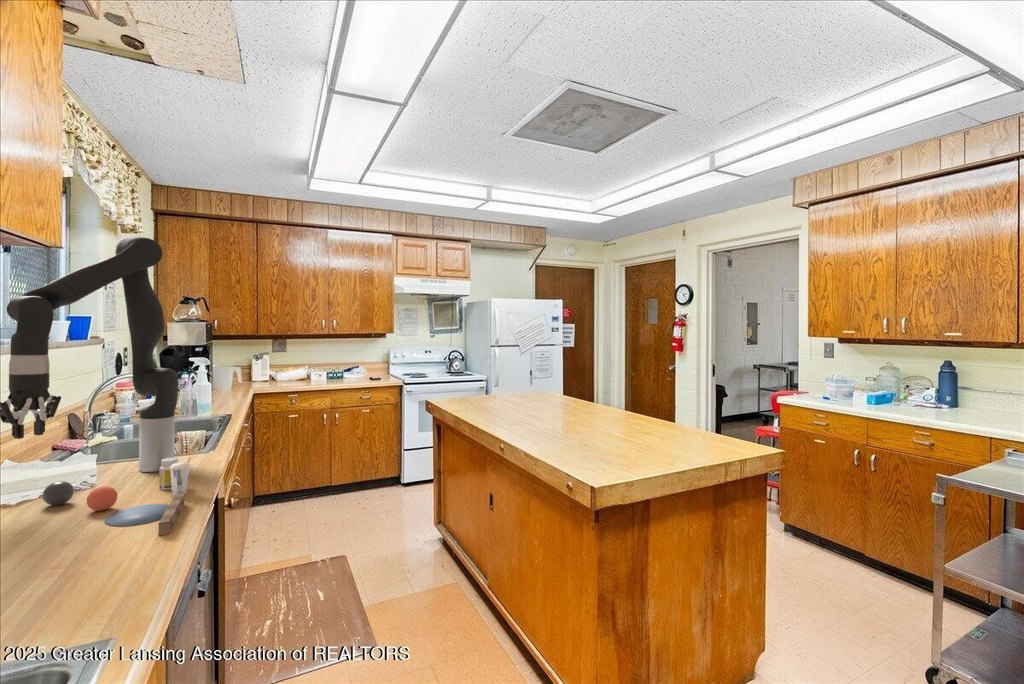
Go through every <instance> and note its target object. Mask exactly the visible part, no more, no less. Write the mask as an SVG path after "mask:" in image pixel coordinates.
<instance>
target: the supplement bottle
mask: <svg viewBox="0 0 1024 684" xmlns="http://www.w3.org/2000/svg"><path fill="white" fill-rule="evenodd" d="M177 462H179V458H178V457H174V458H166V459H163V460H161V465H162V466H161V467H160V471H159V477H158V478H159V481H158V482H159V486H158V487H159V488H158V489H159V490H161V491H169V490H171V491H172V485H171V473H170V466H171V465H172V464H174V463H177Z"/></svg>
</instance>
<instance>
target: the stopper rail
mask: <svg viewBox="0 0 1024 684" xmlns="http://www.w3.org/2000/svg"><path fill="white" fill-rule="evenodd" d="M185 495H186V494H185V493H184V494H175V496H173V498H172V500H171V501H170V503H169V504H168V505H169V506H168V508H167V509H166V511H165V513H164V514H163V516H162V518H161V519H160V520H158V521H159V522H158V531H157V532H158V533H157V534H158V536H166V535H170V533H171V532H172V530H173V528H174V525H175V523H176V522H177V520H178V518H179V516H180V514H181V512H182V510H183V508H184V506H185Z"/></svg>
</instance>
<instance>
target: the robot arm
mask: <svg viewBox="0 0 1024 684" xmlns="http://www.w3.org/2000/svg"><path fill="white" fill-rule="evenodd" d="M114 253H115V255H114V256H112V257H109V258H107V259H105V260H102V261H99V262H96V263H93V264H91V265H88V266H84V267H81V268H79V269H76V270H73V271H70V272H69V273H67V274H65V275H63V276H60V277H58V278H56V279H55V280H52V281H51V282H49V283H47V284H46V285H44V286H41V287H38V288H35V289H33V290H30V291H28V292H25V293H23V294H20V295H18V296H16V297H13V299H11V300H10V301H9V302H8V304H7V306H6V312H7V315H8V316H9V318H11V319H12V320H14V321H16V322H17V324H16V330H15V333H13V334H12V335H11V338H10V357H9V362H8V391H9V395H8V396H7V398H6V399H4V400H1V401H0V421H1V422H2V423H5V424H9V425H11V436H12V437H13V438H14V439H16V440H20V439H22V440H23V439H24V438H25V436H24V435H25V424H24V422H25V418H26V416H27V415H28V413H29V411H30V412H31V413H32V414H33V417H34V418H33V419H34V421H33V435H34V436H43V435H44V433H45V431H46V421H47V420H48V419H50V418H54V417H55V415H56V413H57V410H58V407H59V404H60V402H61V400H62V396H60V395H53V394H50V391H49V388H50V368H51V367H50V357H49V337H50V334H51V329H52V325H53V322H54V311H55V310H56V309H59V308H61V307H65V306H69V305H71V304H74V303H76V302H78V301H80V300H81V299H83V298H85V297H87V296H88V295H90V294H92V293H94V292H96V291H98V290H100V289H102V288H103V287H105V286H107V285H110V284H112V283H113V282H115V281H118V280H119V279H121V281H122V286H123V294H124V301H125V306H126V307H125V308H126V318H127V324H128V331H129V336H130V344H131V354H132V367H131V368H132V384H133V388H134V390H135V392H136V394H138V395H140V396H147V397H155V400H154V402H153V404H151V405H148V406H145V407H143V408H141V409H140V410H139V432H138V433H139V436H138V437H139V440H138V442H139V443H138V445H139V447H138V471H139V472H141V473H142V472H143V473H155V472H160V467H161V466H162V465H161V460H163V459H166V458H175V413H176V411H175V410H176V409H177V405H178V392H179V376H178V374H177V372H176V371H175V370H174V369H172V368H168V367H165V368H164V367H163V368H162V367H154V361H153V360H154V359H153V356H154V355H153V354H154V350H155V349H156V346H157V344H158V343H159V341H160V340H161V338H162V336H163V334H164V331H165V328H166V326H165V318H164V316H165V315H164V310H163V306H162V304H161V302H160V300H159V298H158V296H157V293H155V291H154V289H153V287H152V284H151V282H150V277H149V270H148V269H149V268H152V267H154V266H156V265H158V264H159V263H160V262H161V260H162V258H163V253H164V252H163V249H162V247H161V245H160V244H159V243H158V242H157V241H156V240H154V239H151V238H148V237H144V236H143V237H141V236H125V237H123V238H120V239H118V241H117V242H116V245H115V251H114ZM45 403H46V404H45ZM11 406H13V408H12V410H11V409H10V408H11Z"/></svg>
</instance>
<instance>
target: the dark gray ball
mask: <svg viewBox="0 0 1024 684" xmlns="http://www.w3.org/2000/svg"><path fill="white" fill-rule="evenodd" d="M74 494H75V488H74V486H73V484H72V483H70V482H68V481H62V480H60V481H55V482H53V483H50V484H48V485H47V486H46V487H45V489H44V490H43V492H42V500H43V502H45V503H46V505H47V504H48V505H50V506H61V505H64V504H66V503H67V502H68V501H70V500H71V499H72V498H73V496H74Z"/></svg>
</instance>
